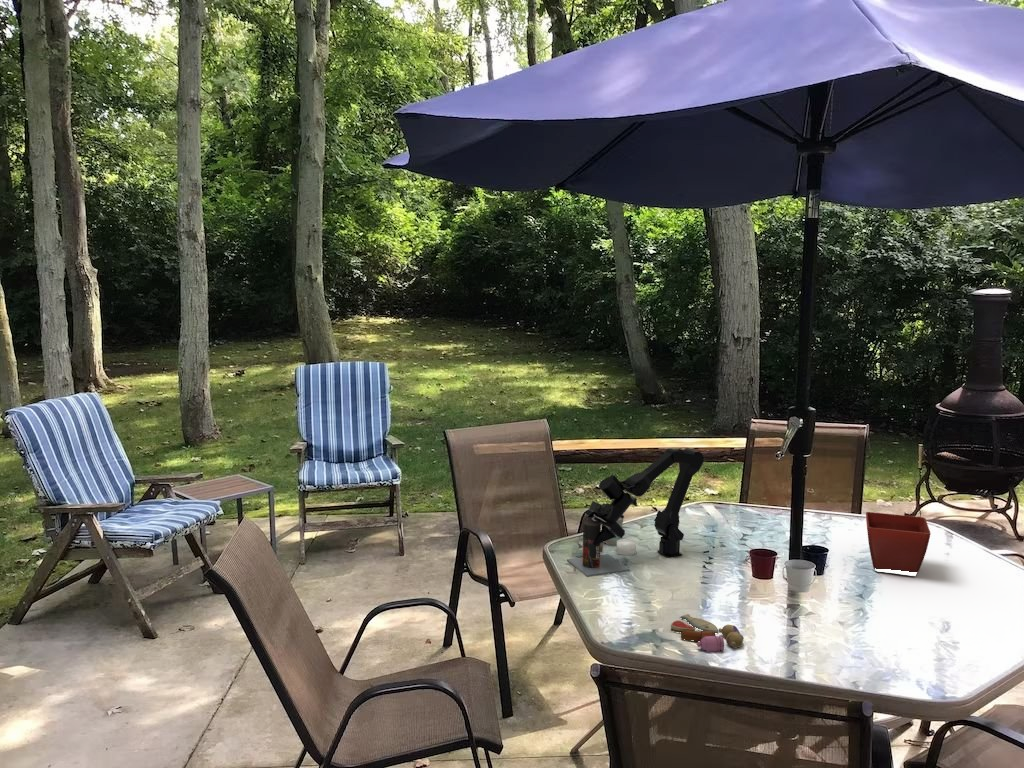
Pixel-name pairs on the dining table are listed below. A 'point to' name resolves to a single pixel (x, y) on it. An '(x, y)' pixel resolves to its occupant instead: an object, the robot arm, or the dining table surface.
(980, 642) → the dining table surface
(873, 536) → the plant pot
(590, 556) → the deodorant
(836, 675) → the dining table surface
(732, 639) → the toy food set
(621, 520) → the coffee cup
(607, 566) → the slate board
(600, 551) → the walnut box
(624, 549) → the off-white smooth dome
